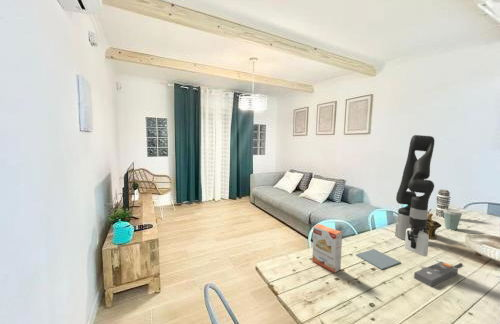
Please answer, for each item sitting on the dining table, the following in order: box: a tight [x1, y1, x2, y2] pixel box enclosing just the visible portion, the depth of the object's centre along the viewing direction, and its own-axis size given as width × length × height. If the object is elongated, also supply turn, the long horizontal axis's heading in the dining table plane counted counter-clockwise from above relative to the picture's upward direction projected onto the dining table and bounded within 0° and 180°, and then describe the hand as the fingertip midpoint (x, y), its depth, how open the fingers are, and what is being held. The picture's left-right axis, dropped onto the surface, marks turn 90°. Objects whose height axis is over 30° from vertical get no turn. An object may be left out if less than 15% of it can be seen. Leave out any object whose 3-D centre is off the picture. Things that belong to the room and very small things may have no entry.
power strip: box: [413, 261, 463, 288], centre depth 110 cm, size 7×37×4 cm, turn 114°
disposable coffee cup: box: [443, 208, 463, 231], centre depth 166 cm, size 11×11×15 cm
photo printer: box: [404, 228, 430, 257], centre depth 115 cm, size 10×4×12 cm, turn 26°
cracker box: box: [312, 223, 343, 274], centre depth 116 cm, size 14×6×21 cm, turn 37°
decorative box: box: [426, 208, 442, 240], centre depth 157 cm, size 20×10×20 cm, turn 19°
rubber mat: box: [355, 248, 402, 271], centre depth 123 cm, size 16×16×1 cm
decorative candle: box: [435, 189, 451, 218], centre depth 191 cm, size 9×9×25 cm
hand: (415, 246), depth 116 cm, fingers closed on photo printer, 4 cm apart
